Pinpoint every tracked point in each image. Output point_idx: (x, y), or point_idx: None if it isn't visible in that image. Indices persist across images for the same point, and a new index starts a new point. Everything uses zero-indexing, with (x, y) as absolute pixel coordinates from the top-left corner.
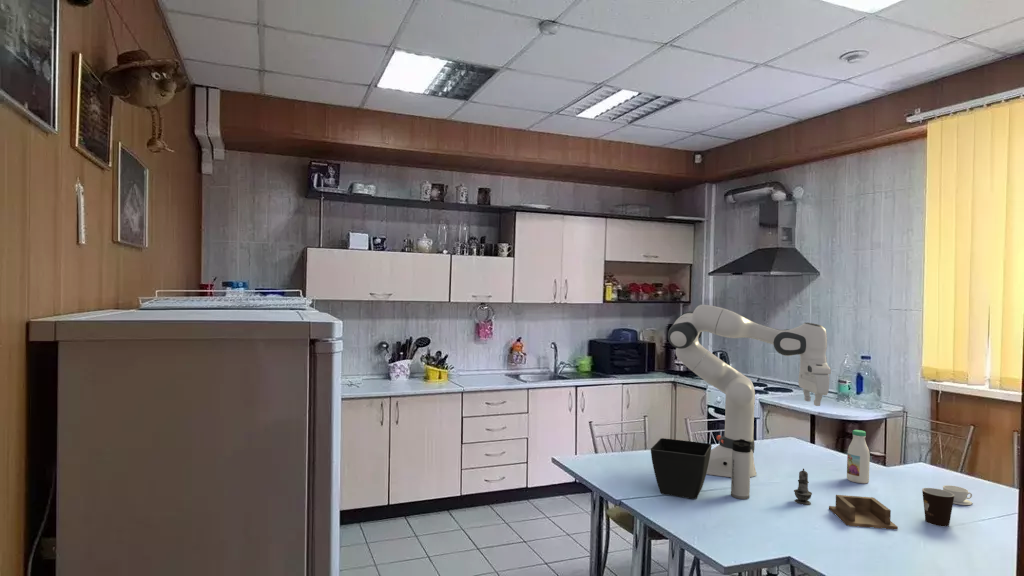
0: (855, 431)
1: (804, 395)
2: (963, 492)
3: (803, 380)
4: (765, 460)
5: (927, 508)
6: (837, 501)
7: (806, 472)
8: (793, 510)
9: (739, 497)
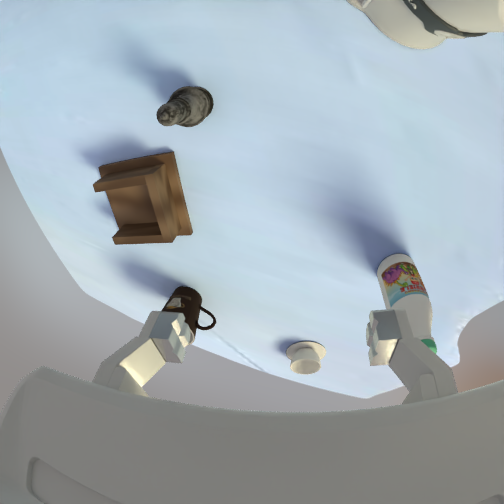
0: None
1: (414, 341)
2: (290, 367)
3: (416, 501)
4: None
5: (171, 300)
6: (149, 170)
7: (162, 123)
8: (134, 81)
9: None
